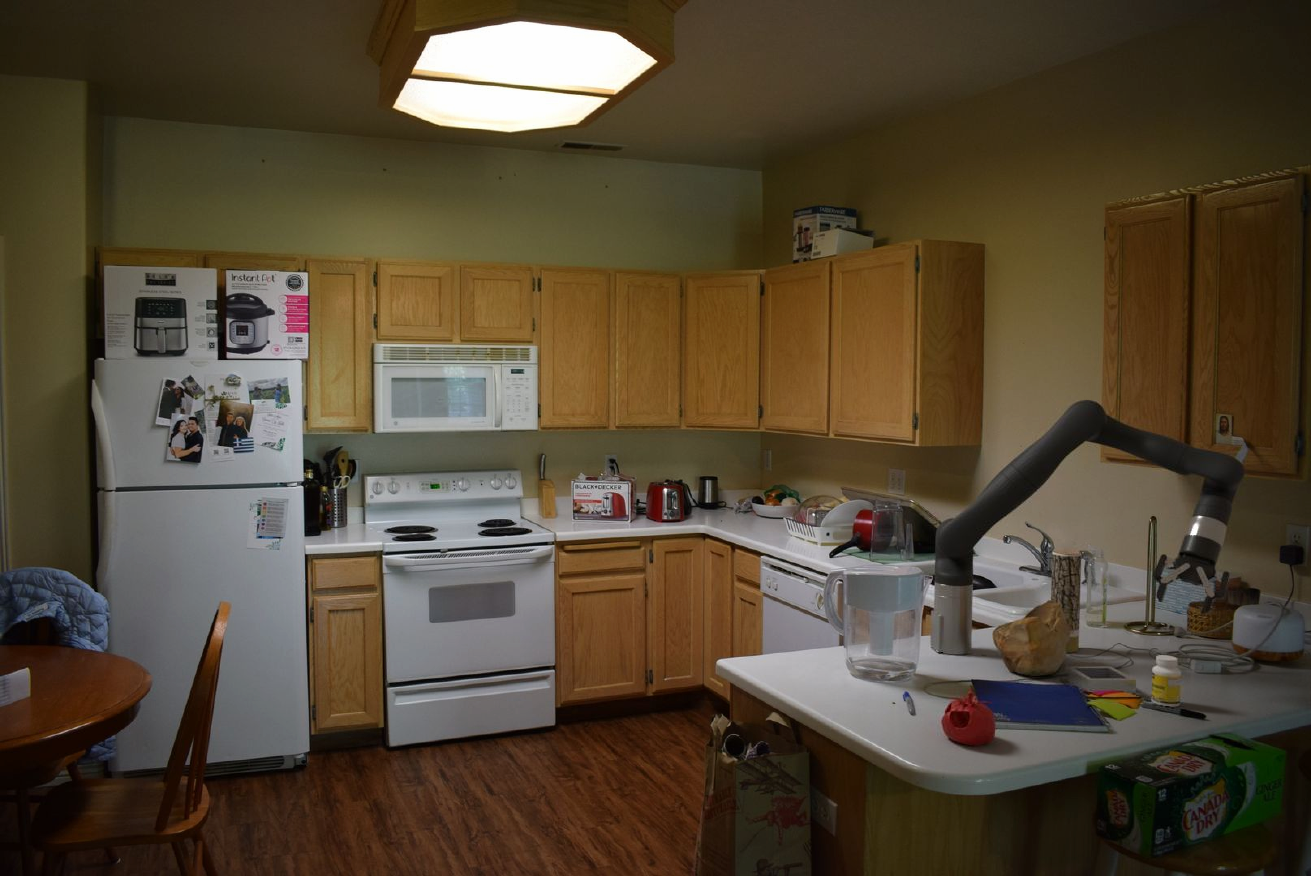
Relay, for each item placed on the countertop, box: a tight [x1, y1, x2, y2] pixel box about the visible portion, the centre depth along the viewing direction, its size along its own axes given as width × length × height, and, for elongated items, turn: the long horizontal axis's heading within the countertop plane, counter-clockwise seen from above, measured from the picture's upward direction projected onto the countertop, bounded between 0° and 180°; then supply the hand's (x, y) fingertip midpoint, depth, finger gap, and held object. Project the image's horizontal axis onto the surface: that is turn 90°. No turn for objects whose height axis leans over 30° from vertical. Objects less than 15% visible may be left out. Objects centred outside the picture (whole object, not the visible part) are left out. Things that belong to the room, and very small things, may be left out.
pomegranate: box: [940, 690, 996, 747], centre depth 181 cm, size 10×10×9 cm
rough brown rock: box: [992, 599, 1070, 677], centre depth 232 cm, size 23×17×15 cm
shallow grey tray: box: [1059, 665, 1142, 698], centre depth 214 cm, size 12×12×4 cm
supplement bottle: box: [1150, 654, 1182, 708], centre depth 204 cm, size 5×5×10 cm
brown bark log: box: [1050, 549, 1082, 654], centre depth 246 cm, size 7×7×25 cm
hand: (1181, 607), depth 212 cm, fingers open, 8 cm apart
